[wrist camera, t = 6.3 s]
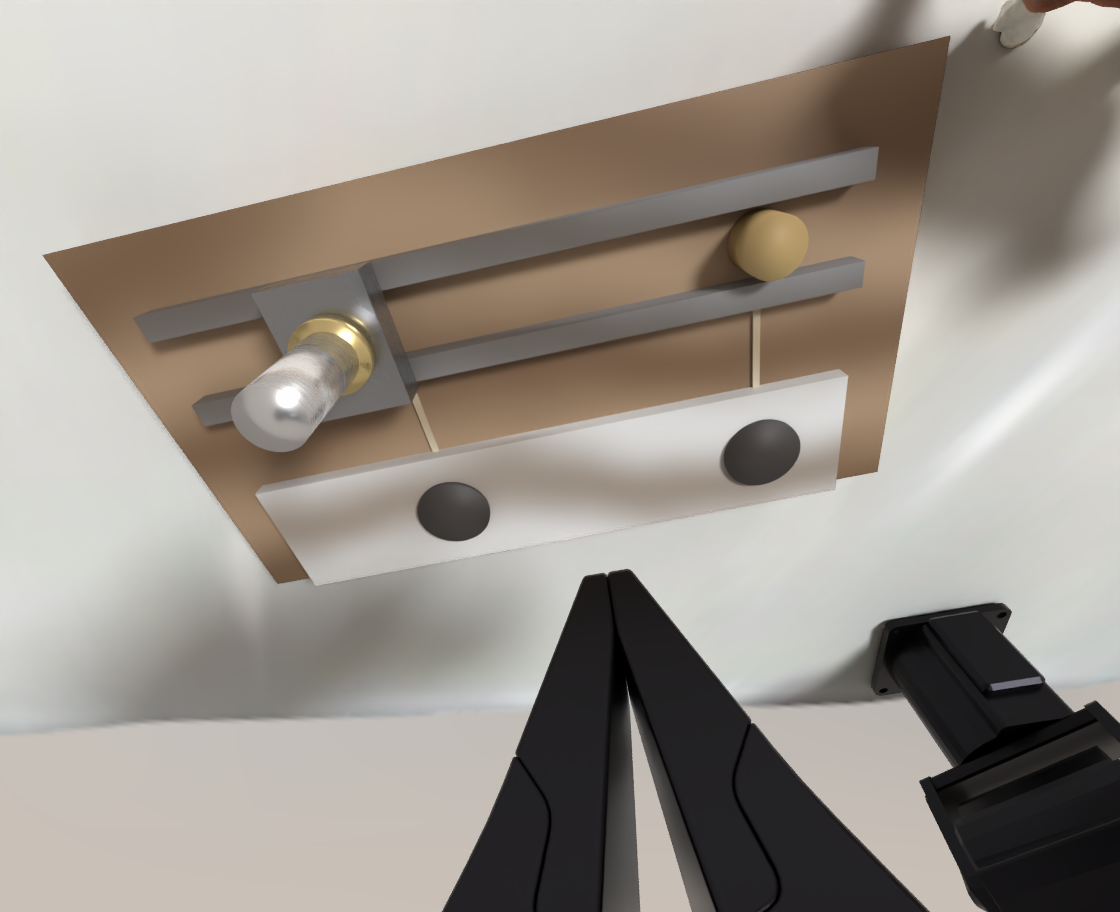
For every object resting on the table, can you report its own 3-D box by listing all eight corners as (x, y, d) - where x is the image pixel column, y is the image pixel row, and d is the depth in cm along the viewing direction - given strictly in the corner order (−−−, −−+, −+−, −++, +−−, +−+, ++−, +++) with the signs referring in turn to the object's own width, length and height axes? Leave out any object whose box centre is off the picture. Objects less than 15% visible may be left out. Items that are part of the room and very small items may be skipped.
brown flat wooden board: (856, 452, 22) (900, 493, 19) (291, 560, 23) (262, 610, 21) (913, 45, 14) (996, 23, 12) (81, 246, 16) (-5, 265, 13)
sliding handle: (418, 387, 16) (374, 481, 12) (332, 405, 16) (254, 505, 12) (370, 260, 14) (292, 315, 10) (271, 283, 14) (147, 347, 10)
